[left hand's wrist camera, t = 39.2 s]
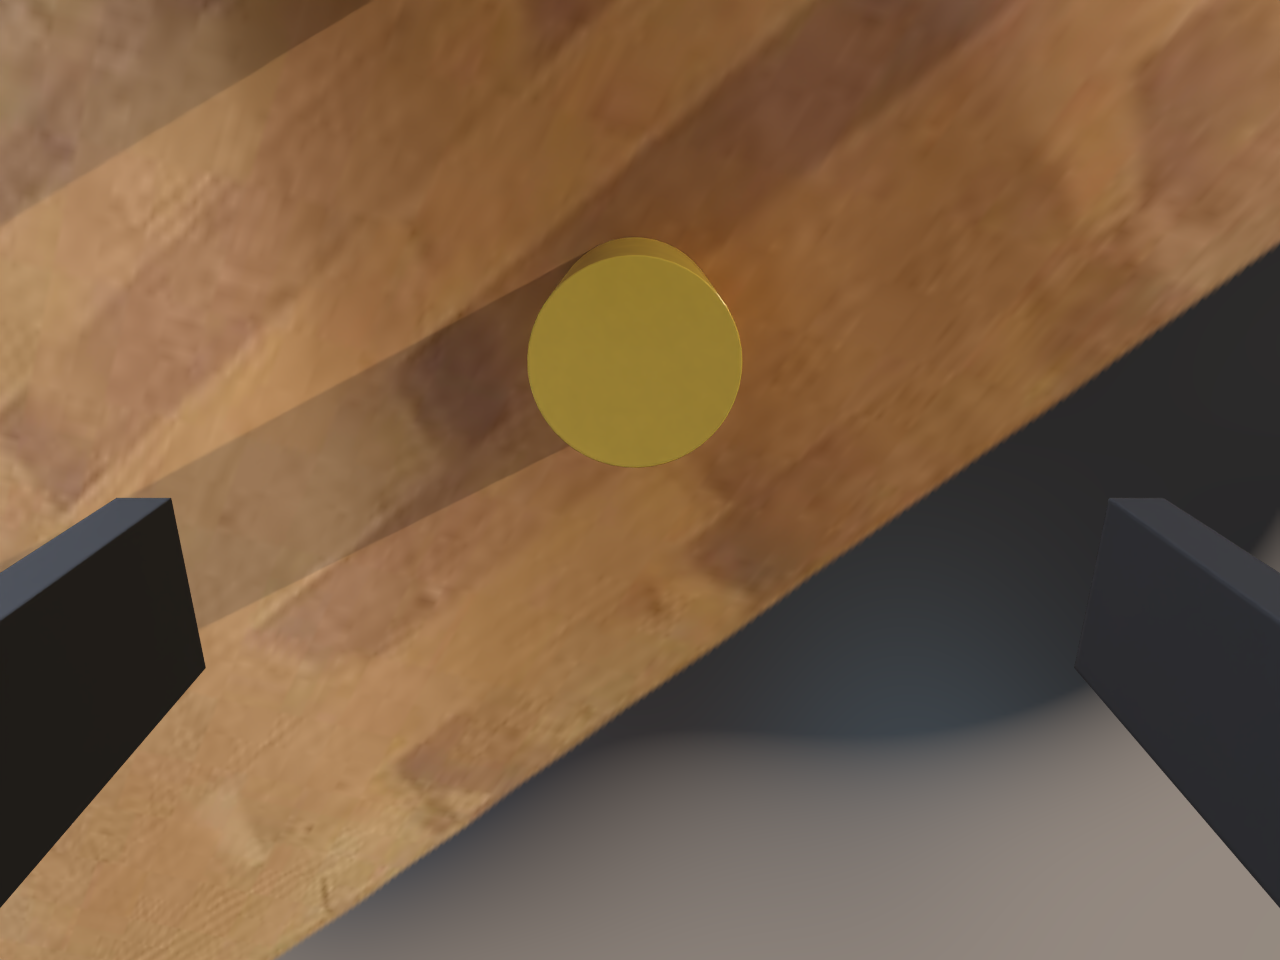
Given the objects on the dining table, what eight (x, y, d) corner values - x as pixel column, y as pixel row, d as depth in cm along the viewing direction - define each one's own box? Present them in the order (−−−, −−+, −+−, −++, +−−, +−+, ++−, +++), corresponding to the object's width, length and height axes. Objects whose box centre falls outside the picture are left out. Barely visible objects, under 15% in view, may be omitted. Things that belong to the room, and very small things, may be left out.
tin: (517, 311, 38) (482, 351, 29) (646, 200, 37) (649, 206, 28) (624, 435, 40) (621, 507, 31) (751, 334, 39) (785, 380, 30)
